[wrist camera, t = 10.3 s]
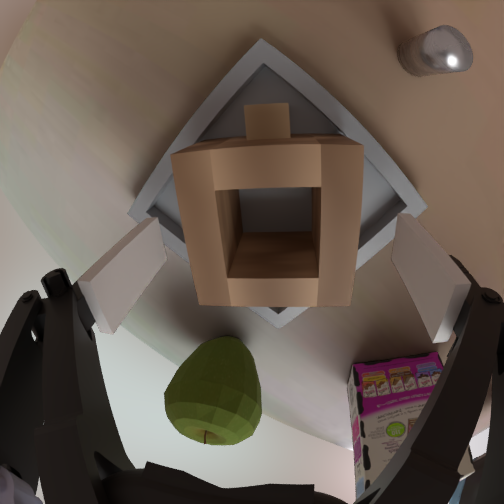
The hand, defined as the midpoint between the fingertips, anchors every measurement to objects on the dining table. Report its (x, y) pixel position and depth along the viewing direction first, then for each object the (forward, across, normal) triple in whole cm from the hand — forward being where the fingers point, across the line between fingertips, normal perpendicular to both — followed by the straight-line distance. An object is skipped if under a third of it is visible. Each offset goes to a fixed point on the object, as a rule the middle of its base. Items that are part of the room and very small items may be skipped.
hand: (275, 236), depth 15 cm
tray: (+6, 0, 0) cm, 6 cm away
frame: (+5, 0, 0) cm, 5 cm away
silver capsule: (+6, -10, -11) cm, 16 cm away
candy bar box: (+7, -13, +20) cm, 25 cm away
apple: (+6, +6, +15) cm, 17 cm away
